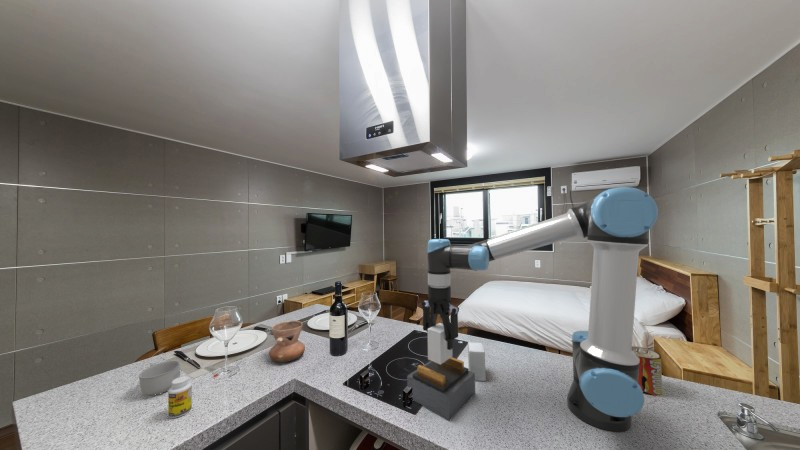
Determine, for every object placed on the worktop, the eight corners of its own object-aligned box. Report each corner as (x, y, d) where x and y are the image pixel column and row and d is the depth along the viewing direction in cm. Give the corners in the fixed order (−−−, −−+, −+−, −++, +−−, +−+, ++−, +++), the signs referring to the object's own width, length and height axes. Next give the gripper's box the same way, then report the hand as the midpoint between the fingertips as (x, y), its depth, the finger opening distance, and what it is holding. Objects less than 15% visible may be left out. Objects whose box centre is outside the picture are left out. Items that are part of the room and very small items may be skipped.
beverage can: (625, 388, 89) (624, 352, 89) (626, 376, 95) (625, 343, 95) (662, 399, 83) (661, 361, 83) (661, 386, 89) (660, 351, 89)
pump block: (452, 356, 88) (452, 326, 88) (440, 364, 82) (440, 332, 83) (440, 351, 91) (439, 322, 91) (427, 359, 86) (427, 328, 86)
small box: (485, 381, 94) (485, 352, 94) (469, 380, 95) (469, 351, 95) (483, 369, 102) (482, 342, 102) (468, 368, 103) (467, 341, 103)
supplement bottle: (163, 420, 77) (163, 386, 78) (175, 408, 83) (175, 375, 83) (185, 417, 79) (185, 383, 79) (195, 405, 84) (195, 373, 84)
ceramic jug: (295, 367, 106) (295, 332, 107) (260, 367, 106) (260, 332, 107) (311, 348, 124) (311, 317, 125) (281, 348, 124) (281, 317, 125)
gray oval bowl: (182, 389, 93) (182, 366, 93) (139, 404, 85) (139, 380, 85) (176, 374, 102) (176, 354, 102) (137, 387, 94) (137, 365, 94)
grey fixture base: (475, 394, 87) (474, 362, 87) (449, 420, 75) (448, 384, 75) (435, 376, 98) (435, 348, 98) (407, 397, 86) (406, 365, 86)
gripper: (469, 287, 83) (470, 360, 83) (424, 280, 96) (425, 343, 96) (457, 291, 78) (458, 370, 78) (411, 283, 90) (412, 351, 90)
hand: (440, 355), depth 87 cm, fingers closed on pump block, 5 cm apart
